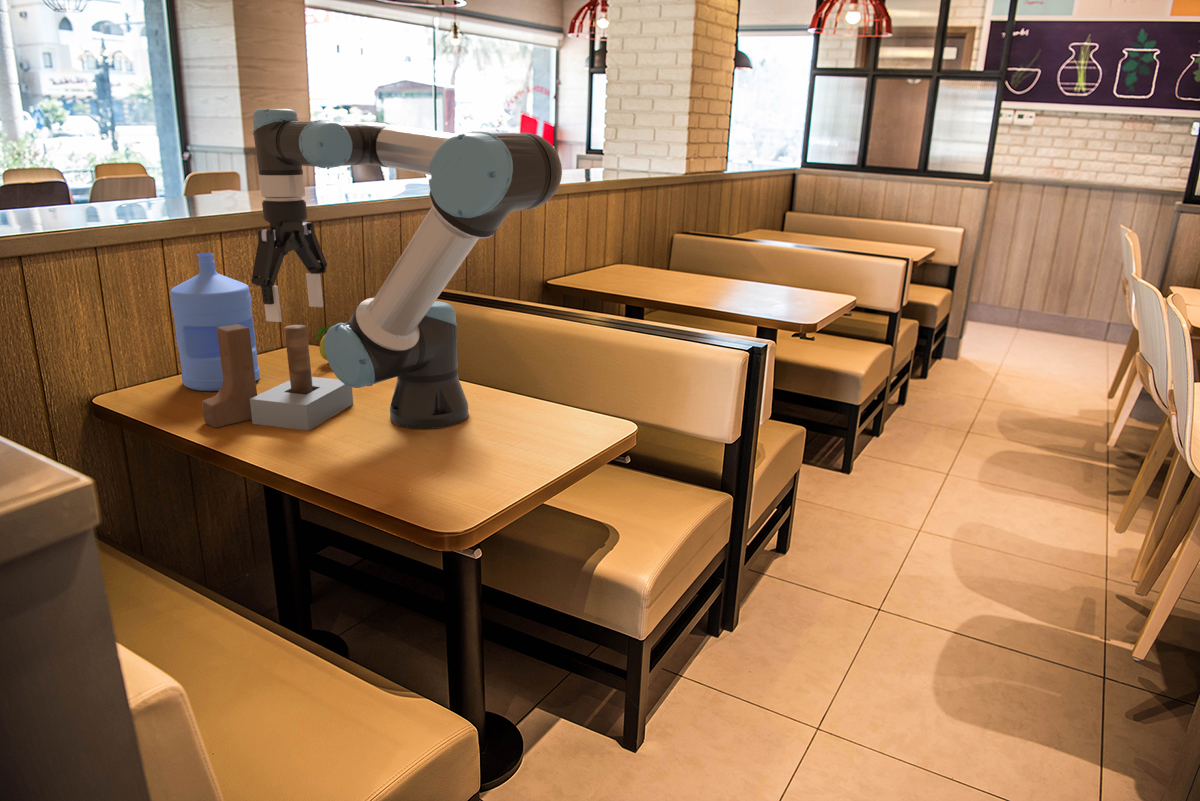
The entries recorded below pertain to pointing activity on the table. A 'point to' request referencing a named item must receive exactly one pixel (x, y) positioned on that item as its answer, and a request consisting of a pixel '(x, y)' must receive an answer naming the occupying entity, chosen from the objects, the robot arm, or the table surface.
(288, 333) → the pin
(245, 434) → the table surface
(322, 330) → the lemon
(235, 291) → the water jug
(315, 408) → the socket board
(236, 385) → the brown boot
